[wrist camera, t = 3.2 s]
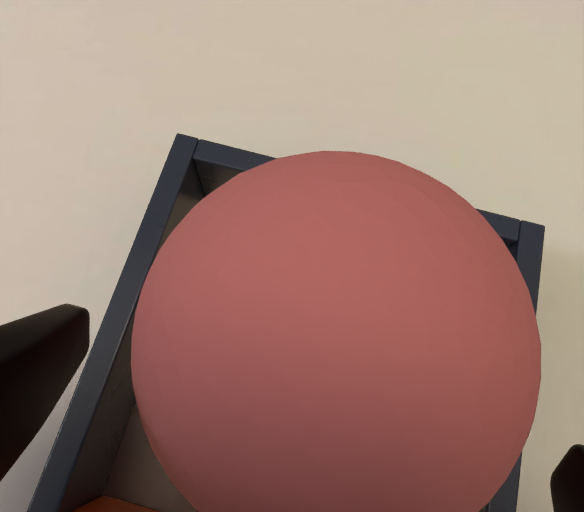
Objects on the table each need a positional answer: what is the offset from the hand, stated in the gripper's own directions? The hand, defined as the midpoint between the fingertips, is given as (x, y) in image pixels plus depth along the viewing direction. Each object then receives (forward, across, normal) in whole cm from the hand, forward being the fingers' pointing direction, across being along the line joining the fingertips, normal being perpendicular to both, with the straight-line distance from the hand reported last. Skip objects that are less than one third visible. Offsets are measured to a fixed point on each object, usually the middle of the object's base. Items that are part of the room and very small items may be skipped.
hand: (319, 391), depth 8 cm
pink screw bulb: (+7, 0, +6) cm, 9 cm away
